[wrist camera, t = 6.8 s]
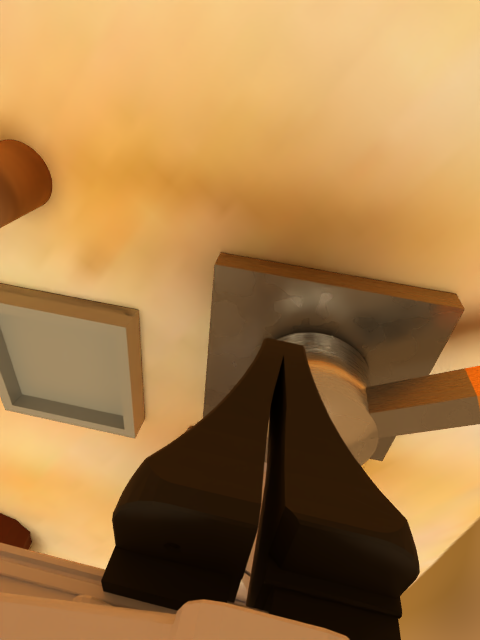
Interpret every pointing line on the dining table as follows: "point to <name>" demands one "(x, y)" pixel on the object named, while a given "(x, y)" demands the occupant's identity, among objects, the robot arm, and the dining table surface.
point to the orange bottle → (21, 181)
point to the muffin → (14, 533)
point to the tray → (71, 360)
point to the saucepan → (384, 396)
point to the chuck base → (322, 321)
